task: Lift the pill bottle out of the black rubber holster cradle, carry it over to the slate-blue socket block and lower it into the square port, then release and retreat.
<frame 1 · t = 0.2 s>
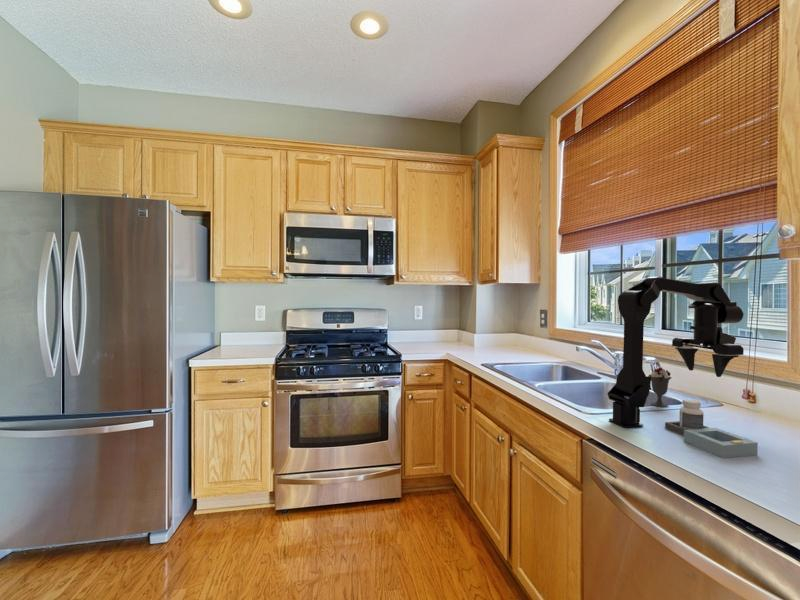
hand: (704, 373, 114), 14 cm above the worktop, fingers open, 9 cm apart
sundae: (659, 405, 128), on the worktop
port: (718, 447, 93), on the worktop
holster: (691, 432, 103), on the worktop
pill bottle: (691, 433, 103), resting in holster
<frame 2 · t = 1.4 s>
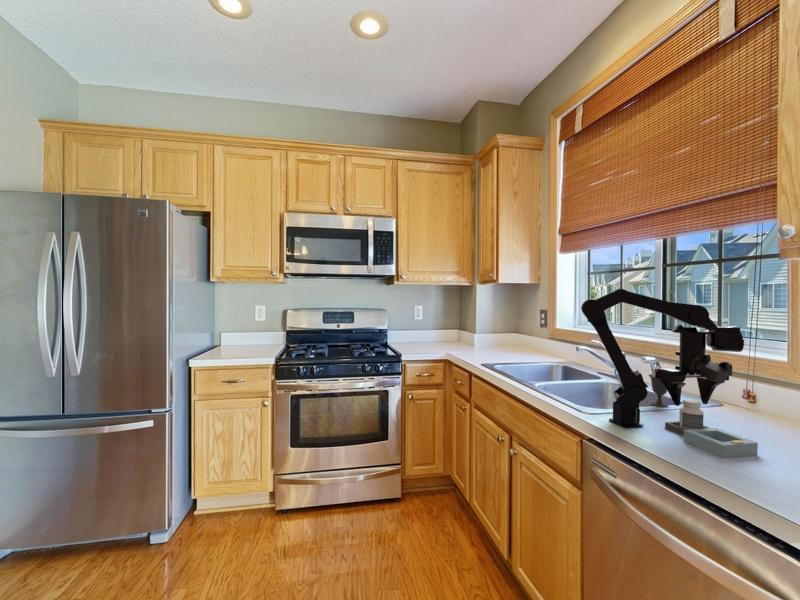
hand: (691, 404, 103), 8 cm above the worktop, fingers open, 9 cm apart
nothing on the worktop moved.
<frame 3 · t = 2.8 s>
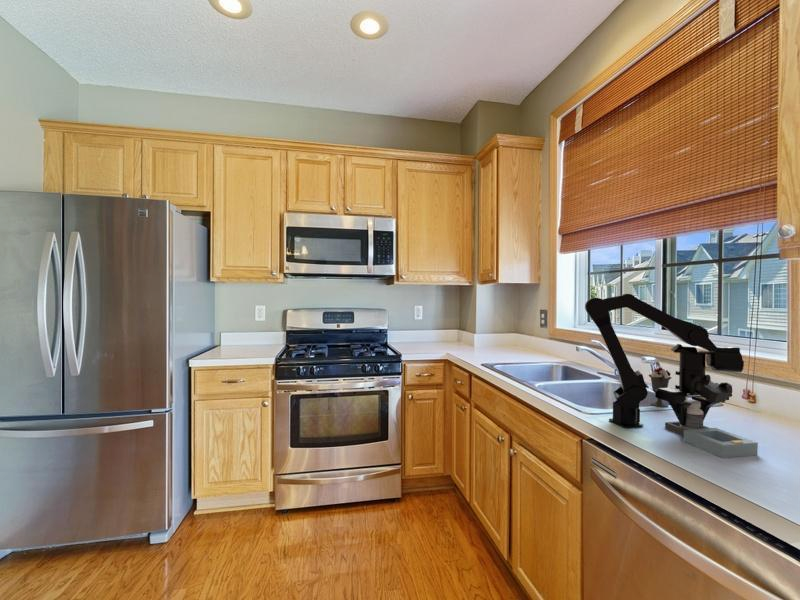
hand: (691, 424, 103), 2 cm above the worktop, fingers closed on pill bottle, 5 cm apart
pill bottle: (691, 432, 103), resting in holster, touching gripper
everything else where it was.
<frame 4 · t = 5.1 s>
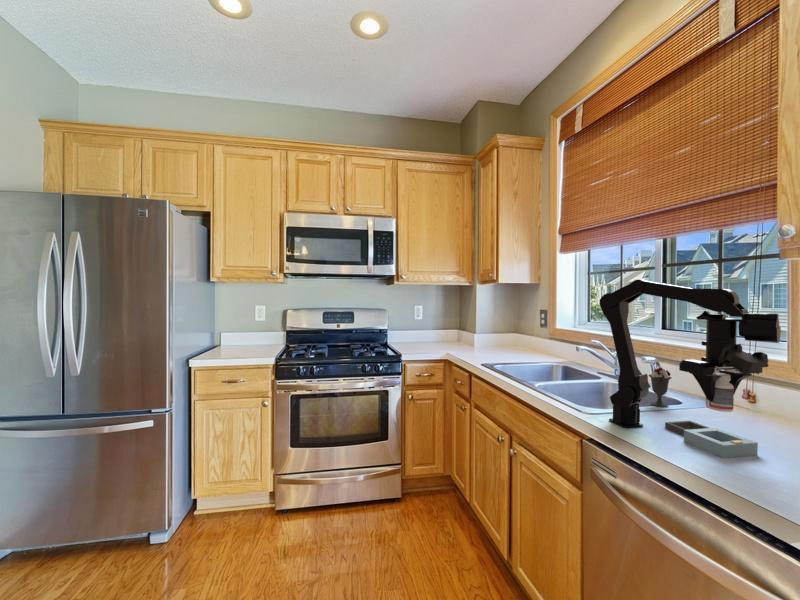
hand: (719, 400, 93), 12 cm above the worktop, fingers closed on pill bottle, 5 cm apart
pill bottle: (719, 409, 93), point 10 cm above the worktop, touching gripper
everything else where it was.
when the fingers open (4 cm above the worktop, at t = 7.3 s): pill bottle drops 2 cm, resting in port.
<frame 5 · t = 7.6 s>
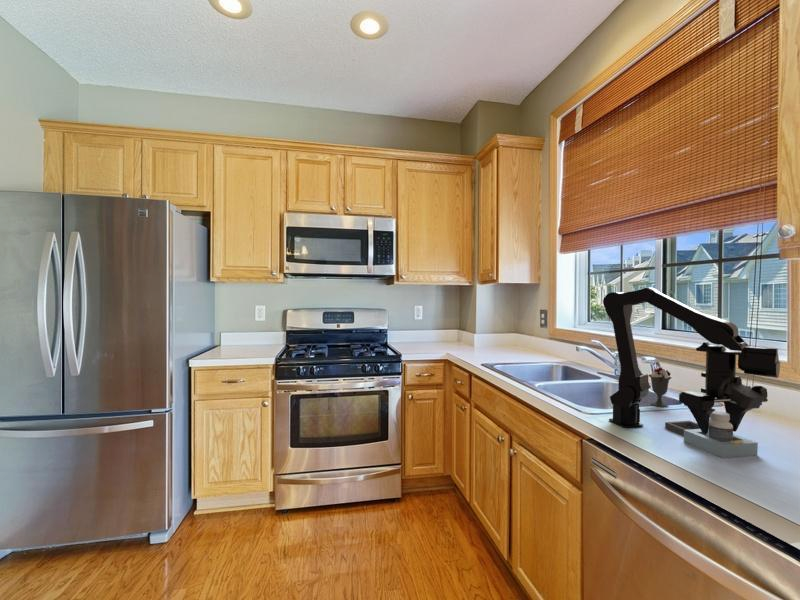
hand: (719, 432, 93), 4 cm above the worktop, fingers open, 8 cm apart
pill bottle: (718, 448, 93), resting in port
everything else where it was.
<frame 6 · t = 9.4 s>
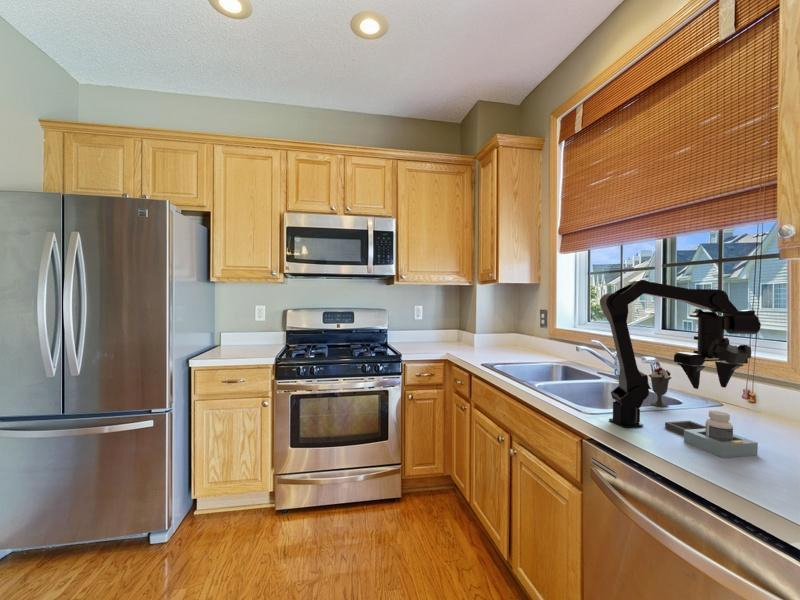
hand: (709, 388, 105), 12 cm above the worktop, fingers open, 9 cm apart
nothing on the worktop moved.
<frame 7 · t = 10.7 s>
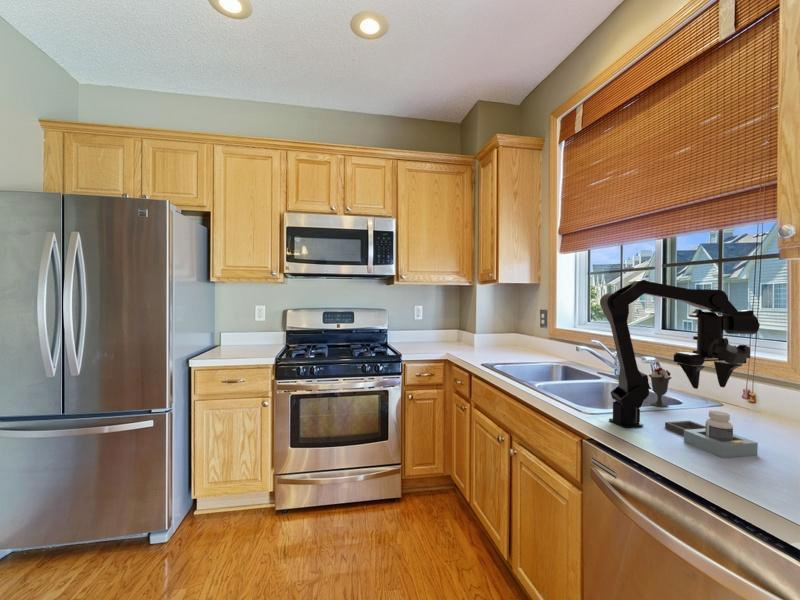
hand: (709, 387, 105), 12 cm above the worktop, fingers open, 9 cm apart
nothing on the worktop moved.
at the end: pill bottle 0.0 cm off-centre on the port, point 0.0 cm above the port's base; pill bottle tilted 0°; the gripper is holding nothing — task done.
